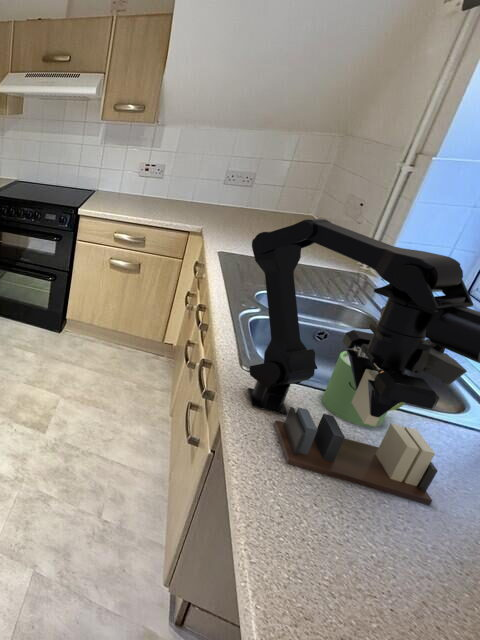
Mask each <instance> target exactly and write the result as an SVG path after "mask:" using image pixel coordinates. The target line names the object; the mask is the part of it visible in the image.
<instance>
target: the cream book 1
mask: <svg viewBox="0 0 480 640" xmlns="http://www.w3.org/2000/svg"><path fill="white" fill-rule="evenodd" d="M377 374H379V373H378V372H377V371H374V370H369V369H366V370H365V372H364V374H363V377H362V379H361V381H360V384H359V386H358V388H357V391H356V393H355V395H354V398H353V400H352V404H353V406H354V407H355V409H356V411H357V412H358V414H359V416H360V417H361V419H362V421H363V422H364V423H365V424H369V425H373V426H376V424H377V422H378V420H379V418H380V417H374V416H371V414H370V407H369V390H368V380H373V381H375V377H376V375H377Z"/></svg>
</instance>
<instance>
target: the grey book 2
mask: <svg viewBox="0 0 480 640" xmlns="http://www.w3.org/2000/svg"><path fill="white" fill-rule="evenodd" d="M334 416H335V415H331V414H327V413H324V412H323V413H322V415H321V417H320V420H319V422H318V425H317V427H316V428H317V433H316V435H315V438H314V440H315V442H316V444H317V447H318V449H319V451H320V453H321V456H322V458H323V460H326V461H330V462H333V463H334V461H335V459H336V457H337V454H338V452H339V450H340V448H341V445H342V443H343V441H344V439H346V437H345V435H344V433H343V431H342V429H341V428H340V425H339V424H338V422H337V420H336V419H335V417H334Z"/></svg>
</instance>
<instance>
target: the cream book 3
mask: <svg viewBox="0 0 480 640" xmlns="http://www.w3.org/2000/svg"><path fill="white" fill-rule="evenodd" d="M403 428H404V429H405V431H406V432H407V433H408V435H409V436H410V437H411V439H412V440H413V441H414V443H415V444H416V445H417V447H418V448H419V451H418V453H417V455H416V457H415V459H414V460H413V462H412V464H411V466H410V468H409V470H408V471H407V473H406V475H405V477H404V479H403V480H404V482H405V483H407V484H411V485H414V486H417V485H418V483H419V482H420V480H421V478H422V476H423V474H424V473H425V471H426V469H427V467H428V466H429V464H430V462H432V460H433V459H434V456H435V455H436V452H435V451H434V450H433V448H432V447H431V446H430V445H429V443H428V442H427V441H426V439H425V438H424V437H423V436H422V435H421V433H420V432H419V431H418V429H416V428H413V427H410V426H409V427H408V426H404V427H403Z"/></svg>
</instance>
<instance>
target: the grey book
mask: <svg viewBox="0 0 480 640" xmlns="http://www.w3.org/2000/svg"><path fill="white" fill-rule="evenodd" d="M295 412H296V414H297V416H298V419H299V421H300V423H301V426H302V428H303V430H304V433H305V437H304V440H303V442H302V445H301V447H300V450H299V452H298V453H302V454H305V455H307V454H308V452H309V450H310V447H311V445H312V442H313V440H314V438H315V435H316V433H317V427H316V426H317V425H316V424H315V421H314V419H313V417H312V415H311V413H310V411H309V409H307V408H303V407H297V409H296V411H295Z"/></svg>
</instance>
